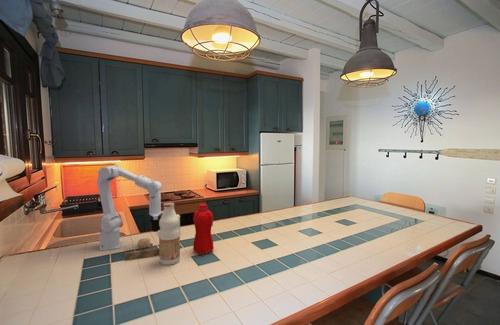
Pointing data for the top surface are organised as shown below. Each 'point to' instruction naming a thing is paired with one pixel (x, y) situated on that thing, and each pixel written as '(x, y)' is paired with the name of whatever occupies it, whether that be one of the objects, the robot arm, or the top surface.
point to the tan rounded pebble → (143, 242)
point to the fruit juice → (169, 236)
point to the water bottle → (203, 230)
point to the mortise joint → (142, 253)
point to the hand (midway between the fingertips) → (155, 229)
